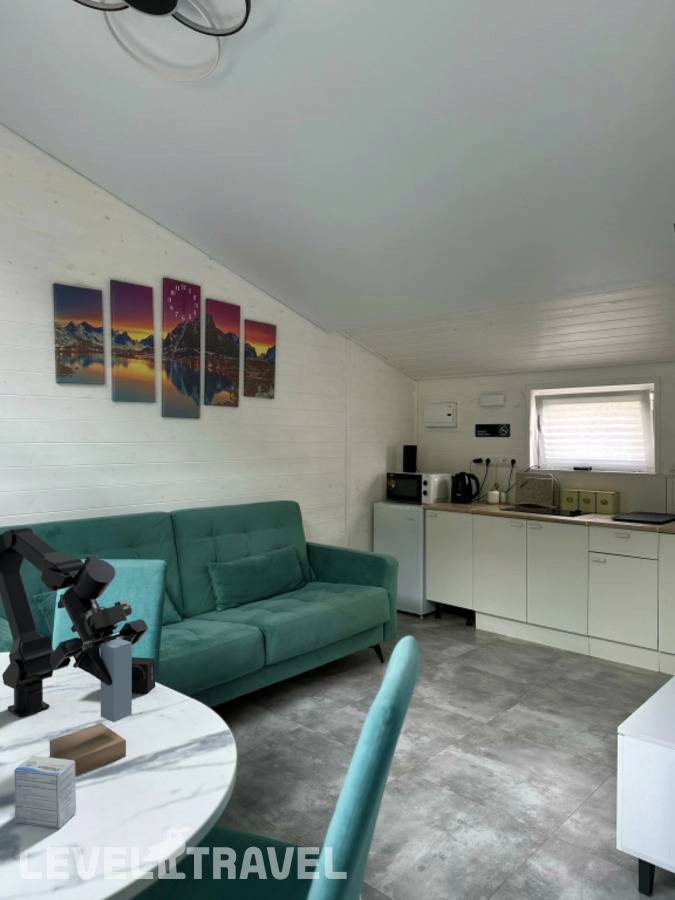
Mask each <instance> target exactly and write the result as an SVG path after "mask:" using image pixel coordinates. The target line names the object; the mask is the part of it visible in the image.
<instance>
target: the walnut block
mask: <svg viewBox="0 0 675 900" xmlns="http://www.w3.org/2000/svg"><path fill="white" fill-rule="evenodd" d="M124 757H127V739H125V738H123V737H122V736H120V735H119V734H118V733H116V732H115V731H114V730H112V729H111V728H109V727H107V726H106V725H105V724H104V723H102V722H100V723H97V724H94V725H92V726H89V727H85V728H83V729H79V730H76V731H74V732H71V733H67V734H65V735H62V736H59V737H57V738H53V739H50V740H49V758H58V759H66V760H74V761H75V777H76V776H79V775H81V774H83V773H86V772H89V771H91V770H93V769H94V770H95V769H96V768H99V767H102V766H103V765H106V764H109V763H111V762H113V761H114V762H115V761H117V760H120V759H123V758H124Z"/></svg>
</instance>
